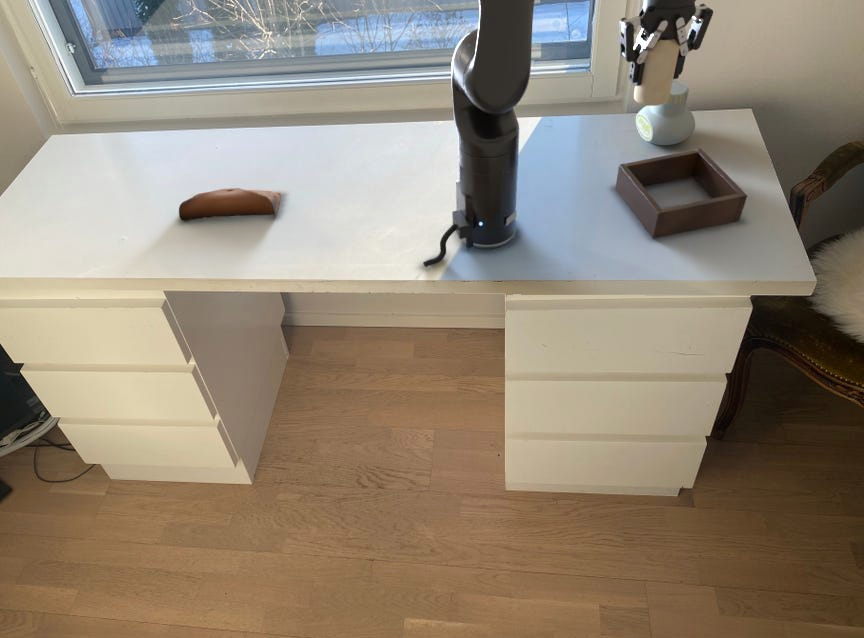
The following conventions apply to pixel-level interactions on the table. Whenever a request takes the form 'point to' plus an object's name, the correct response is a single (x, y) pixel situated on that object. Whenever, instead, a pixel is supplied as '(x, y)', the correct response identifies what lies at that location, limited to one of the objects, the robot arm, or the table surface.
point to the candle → (658, 73)
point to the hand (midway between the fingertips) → (654, 80)
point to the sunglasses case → (230, 204)
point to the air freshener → (667, 119)
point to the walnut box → (687, 216)
